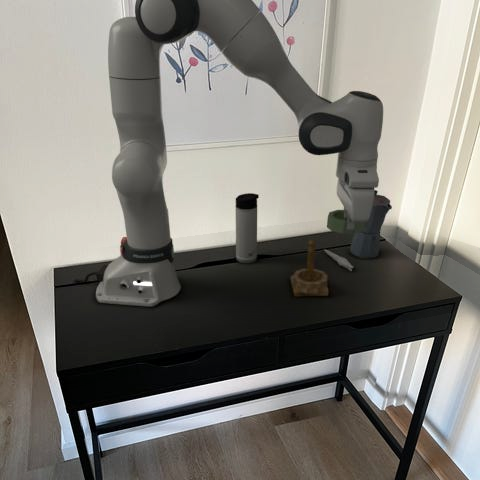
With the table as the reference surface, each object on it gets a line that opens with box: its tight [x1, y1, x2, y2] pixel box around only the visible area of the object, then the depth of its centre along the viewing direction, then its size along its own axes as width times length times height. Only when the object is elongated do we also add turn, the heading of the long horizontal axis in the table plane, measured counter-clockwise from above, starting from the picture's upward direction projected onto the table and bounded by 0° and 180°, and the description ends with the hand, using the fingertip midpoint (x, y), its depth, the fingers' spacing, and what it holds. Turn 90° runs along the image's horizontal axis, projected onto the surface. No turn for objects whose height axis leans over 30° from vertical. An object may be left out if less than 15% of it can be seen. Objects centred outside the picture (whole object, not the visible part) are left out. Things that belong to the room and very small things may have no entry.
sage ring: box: [326, 209, 364, 235], centre depth 128 cm, size 9×9×3 cm
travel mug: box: [234, 192, 260, 264], centre depth 151 cm, size 6×7×20 cm
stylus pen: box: [323, 248, 355, 272], centre depth 154 cm, size 15×3×2 cm, turn 25°
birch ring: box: [292, 268, 329, 294], centre depth 137 cm, size 9×9×3 cm
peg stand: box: [289, 239, 330, 297], centre depth 137 cm, size 9×9×14 cm
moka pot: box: [349, 189, 393, 260], centre depth 154 cm, size 10×15×20 cm, turn 42°
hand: (348, 226), depth 125 cm, fingers closed on sage ring
